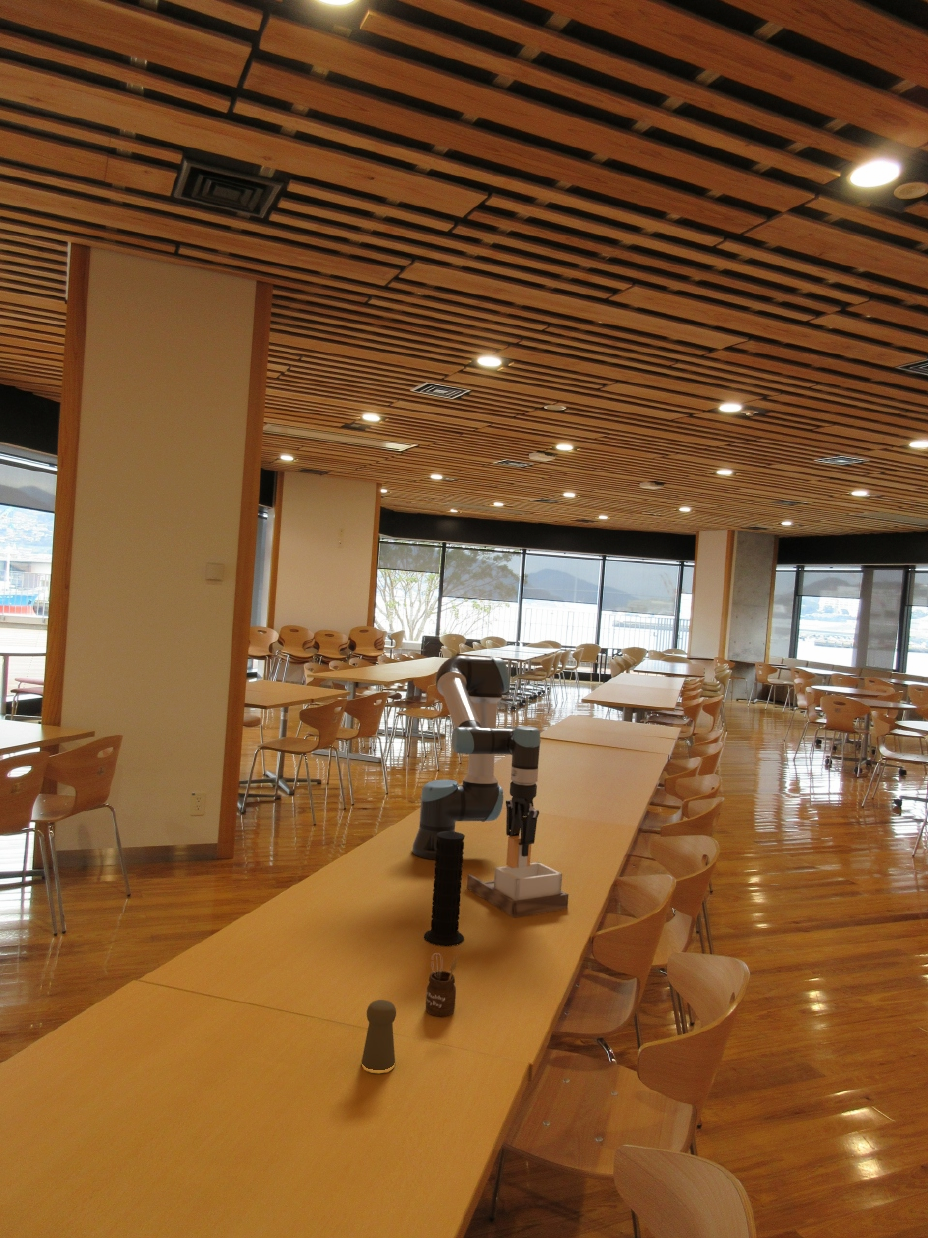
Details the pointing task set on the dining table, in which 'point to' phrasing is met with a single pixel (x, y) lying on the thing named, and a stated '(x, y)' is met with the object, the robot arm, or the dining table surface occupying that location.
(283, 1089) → the dining table surface
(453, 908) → the handle grip
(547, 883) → the box
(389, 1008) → the grey pepper shaker
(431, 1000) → the utensil holder
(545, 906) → the bay
